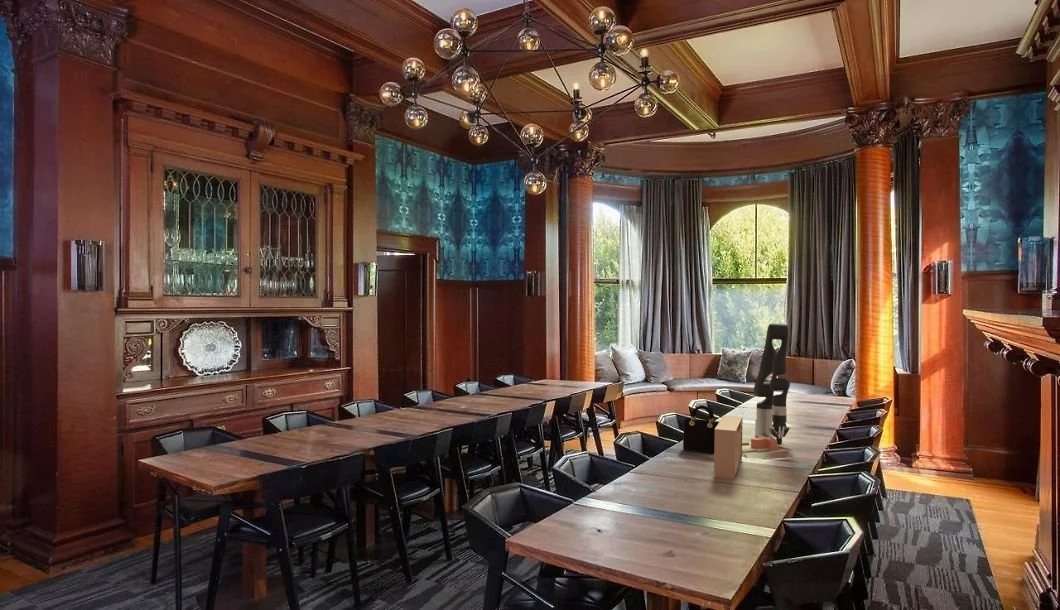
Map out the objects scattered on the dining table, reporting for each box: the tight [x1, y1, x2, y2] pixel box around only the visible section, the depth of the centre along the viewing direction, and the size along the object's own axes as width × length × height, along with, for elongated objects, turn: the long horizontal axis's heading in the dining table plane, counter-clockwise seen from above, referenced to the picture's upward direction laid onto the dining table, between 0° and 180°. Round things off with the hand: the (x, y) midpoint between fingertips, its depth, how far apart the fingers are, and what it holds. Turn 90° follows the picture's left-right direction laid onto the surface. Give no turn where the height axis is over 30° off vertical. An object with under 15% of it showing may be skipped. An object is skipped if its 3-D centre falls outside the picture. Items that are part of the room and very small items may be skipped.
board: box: [742, 441, 789, 457], centre depth 354 cm, size 24×28×2 cm
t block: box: [750, 436, 778, 450], centre depth 355 cm, size 12×11×5 cm
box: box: [713, 414, 744, 480], centre depth 315 cm, size 10×40×22 cm, turn 157°
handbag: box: [682, 405, 720, 455], centre depth 350 cm, size 21×9×25 cm, turn 58°
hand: (779, 444), depth 359 cm, fingers closed
